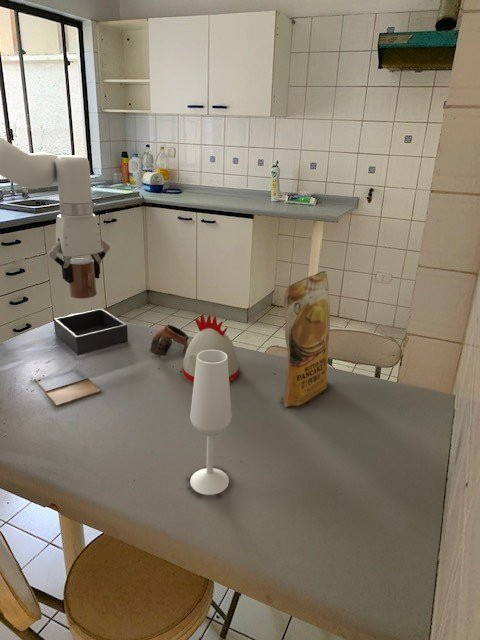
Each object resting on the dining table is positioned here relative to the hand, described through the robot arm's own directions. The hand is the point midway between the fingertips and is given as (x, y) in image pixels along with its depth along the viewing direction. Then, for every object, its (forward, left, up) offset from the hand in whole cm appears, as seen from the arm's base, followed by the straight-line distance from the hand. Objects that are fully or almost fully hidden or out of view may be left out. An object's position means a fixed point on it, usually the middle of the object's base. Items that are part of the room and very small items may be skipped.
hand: (82, 278), depth 120 cm
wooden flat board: (+18, -13, -19) cm, 29 cm away
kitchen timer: (+32, +18, -19) cm, 41 cm away
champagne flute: (+63, -6, -19) cm, 66 cm away
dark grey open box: (-2, +2, -19) cm, 19 cm away
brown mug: (+1, 0, -4) cm, 4 cm away
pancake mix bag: (+53, +29, -19) cm, 63 cm away
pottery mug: (+16, +15, -19) cm, 29 cm away
